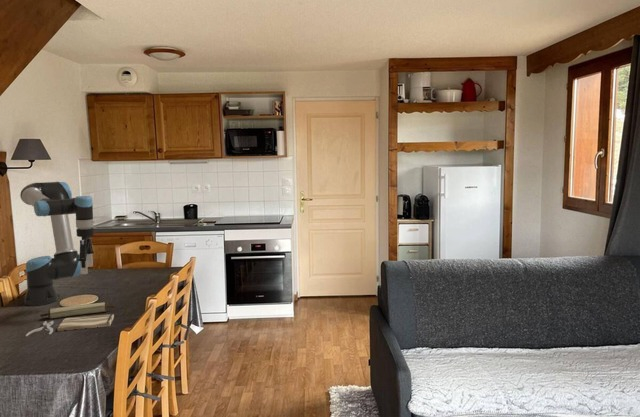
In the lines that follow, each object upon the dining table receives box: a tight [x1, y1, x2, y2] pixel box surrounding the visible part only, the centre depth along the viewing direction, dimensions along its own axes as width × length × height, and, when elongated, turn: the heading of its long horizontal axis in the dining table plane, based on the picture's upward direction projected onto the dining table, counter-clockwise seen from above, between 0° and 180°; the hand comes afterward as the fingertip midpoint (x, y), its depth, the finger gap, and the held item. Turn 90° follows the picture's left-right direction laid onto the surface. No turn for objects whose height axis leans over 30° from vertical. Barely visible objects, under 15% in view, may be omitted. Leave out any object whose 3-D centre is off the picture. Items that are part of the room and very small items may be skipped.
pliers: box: [24, 320, 54, 337], centre depth 205 cm, size 10×2×15 cm
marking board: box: [56, 313, 115, 332], centre depth 211 cm, size 13×21×2 cm, turn 106°
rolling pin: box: [39, 301, 116, 320], centre depth 224 cm, size 32×6×5 cm, turn 113°
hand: (87, 270), depth 229 cm, fingers open, 13 cm apart
